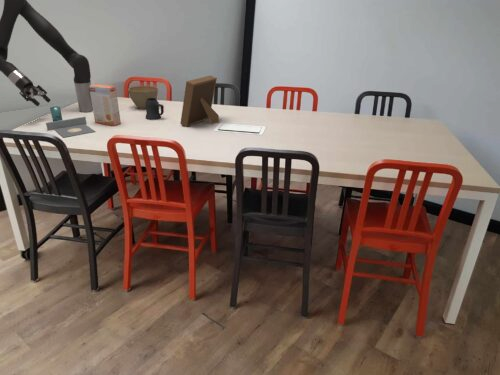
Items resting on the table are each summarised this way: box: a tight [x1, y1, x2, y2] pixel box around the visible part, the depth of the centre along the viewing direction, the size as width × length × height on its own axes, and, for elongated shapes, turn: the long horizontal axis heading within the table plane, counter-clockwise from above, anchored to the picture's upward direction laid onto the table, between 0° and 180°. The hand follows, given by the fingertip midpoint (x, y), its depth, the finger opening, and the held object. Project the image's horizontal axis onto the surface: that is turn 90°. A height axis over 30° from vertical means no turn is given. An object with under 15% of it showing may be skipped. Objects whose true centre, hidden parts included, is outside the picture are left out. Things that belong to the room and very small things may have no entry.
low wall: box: [45, 116, 88, 131], centre depth 202 cm, size 20×1×4 cm, turn 130°
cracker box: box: [89, 83, 122, 127], centre depth 206 cm, size 14×6×21 cm, turn 65°
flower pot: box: [127, 85, 159, 110], centre depth 240 cm, size 18×18×12 cm
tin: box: [49, 105, 64, 122], centre depth 207 cm, size 5×5×9 cm
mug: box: [145, 98, 165, 121], centre depth 219 cm, size 12×9×11 cm
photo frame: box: [179, 75, 220, 128], centre depth 209 cm, size 15×22×25 cm
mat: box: [53, 124, 96, 139], centre depth 197 cm, size 16×16×1 cm
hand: (44, 103), depth 205 cm, fingers open, 8 cm apart
